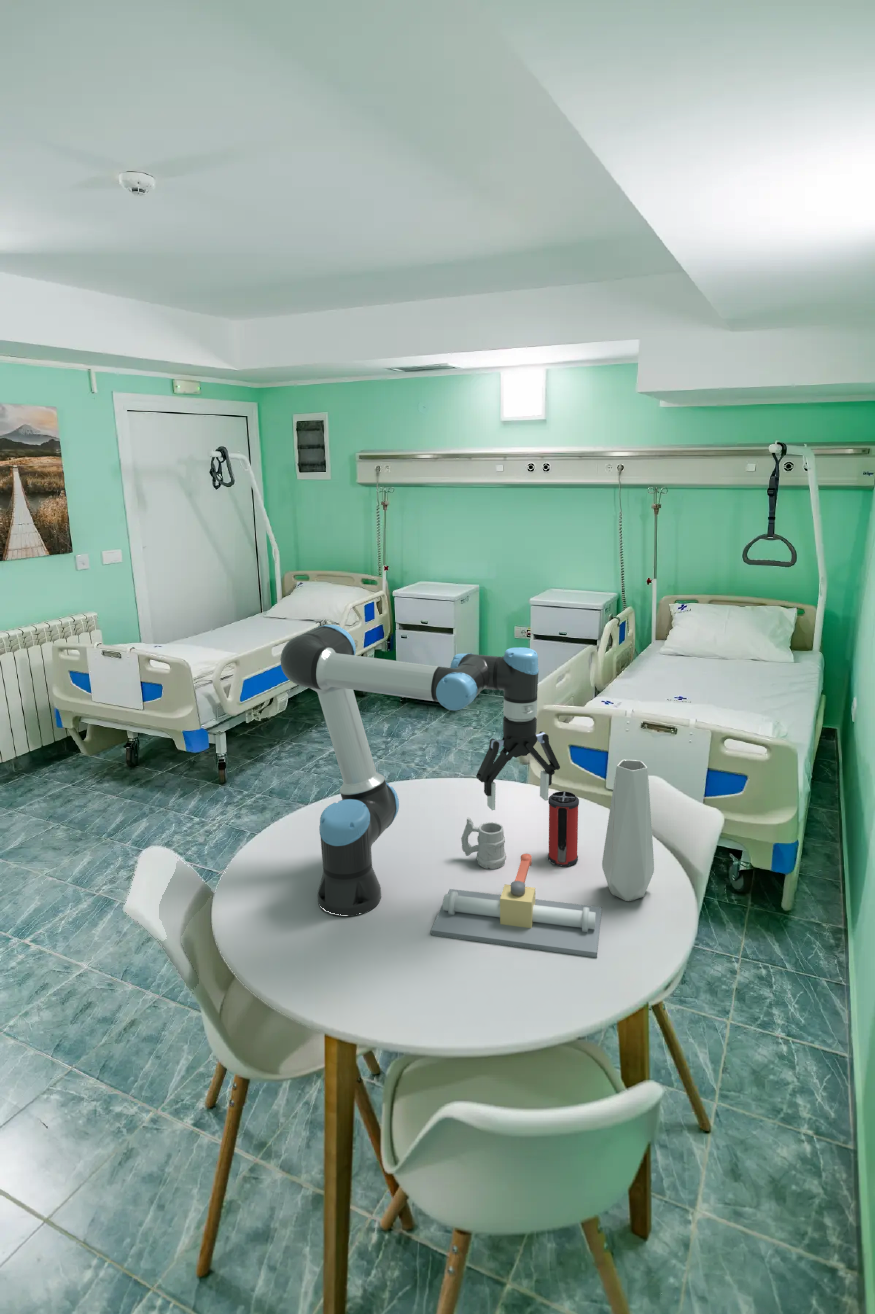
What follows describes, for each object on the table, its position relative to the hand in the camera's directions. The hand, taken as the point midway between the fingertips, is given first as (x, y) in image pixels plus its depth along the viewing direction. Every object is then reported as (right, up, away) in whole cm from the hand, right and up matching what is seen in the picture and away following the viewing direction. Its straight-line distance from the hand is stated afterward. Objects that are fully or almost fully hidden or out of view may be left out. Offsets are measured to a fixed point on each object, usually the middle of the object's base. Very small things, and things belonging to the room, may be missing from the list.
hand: (517, 803), depth 175 cm
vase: (+26, -23, +6) cm, 35 cm away
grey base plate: (-1, -26, -5) cm, 27 cm away
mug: (-7, -20, +22) cm, 30 cm away
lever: (+1, -17, -1) cm, 17 cm away
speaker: (+14, -19, +21) cm, 32 cm away
